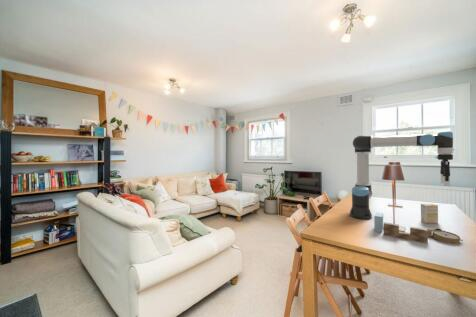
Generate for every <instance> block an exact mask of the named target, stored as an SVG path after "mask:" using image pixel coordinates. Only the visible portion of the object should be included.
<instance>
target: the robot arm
mask: <svg viewBox="0 0 476 317" xmlns="http://www.w3.org/2000/svg"><path fill="white" fill-rule="evenodd" d="M453 133H454V132H452V131H439V132H437V134H434V135H433V134H430V133H424V134H411V135H391V136H373V135H357V136H355V138H354V139H353V141H352V146H353V148H354V153H355V154H356V180H357V181H356V183H355V185H354V186H352V189H351V208H350V211H349V216H350V217H351V218H354V219H358V220H371V219H372V218H373V215H372V212H371V209H370V199H371V197H372V196H373V191H372V184H371V183H370V158H369V155H370V153H372V149H373V148H383V147H387V148H388V147H389V148H390V147H391V148H392V147H430V146H431V147H433V146H436V147H437V151H436V152H437V155H436V156H437V157H436V158H437V159H436V160H439V161H440V172H439V173H440V184H443V187H450V185H451V184H450V183H451V182H450V181H451V179H450V176H451V169H450V168H451V167H450V161H453V159H454V158H453V157H454V155H453V154H454V151H455V148H454V134H453Z"/></svg>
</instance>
